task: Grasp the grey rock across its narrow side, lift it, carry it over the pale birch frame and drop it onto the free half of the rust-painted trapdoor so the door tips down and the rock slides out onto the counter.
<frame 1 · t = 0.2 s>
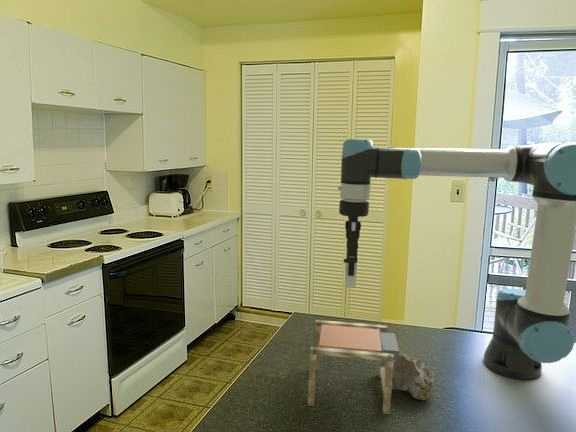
hand: (349, 279, 118), 27 cm above the kitchen island, fingers open, 13 cm apart
rock: (412, 394, 114), on the kitchen island
frame: (348, 389, 115), on the kitchen island
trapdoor: (358, 342, 112), point 13 cm above the kitchen island, hinge at 0.0°
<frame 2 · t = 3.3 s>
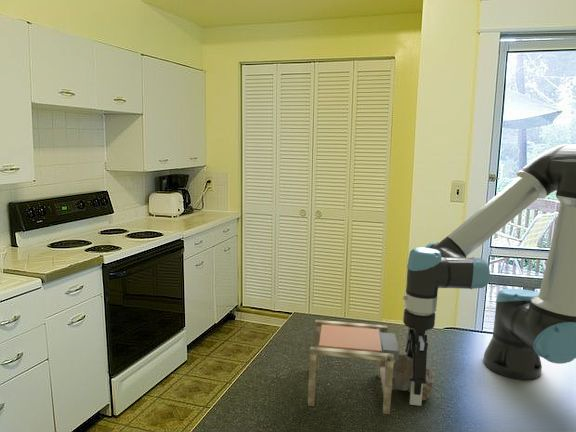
hand: (412, 392, 114), 0 cm above the kitchen island, fingers open, 9 cm apart
nothing on the kitchen island moved.
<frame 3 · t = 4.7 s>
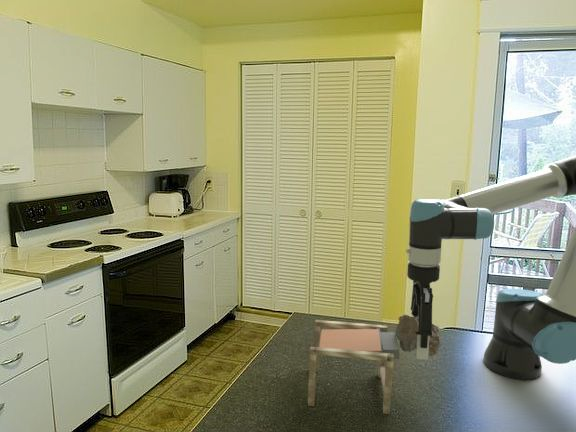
hand: (418, 349, 112), 12 cm above the kitchen island, fingers closed on rock, 9 cm apart
rock: (423, 353, 112), point 11 cm above the kitchen island, touching gripper
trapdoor: (358, 344, 113), point 13 cm above the kitchen island, hinge at -5.0°
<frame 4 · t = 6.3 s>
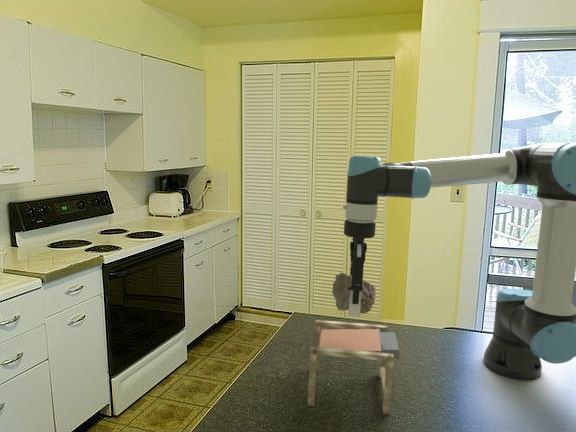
hand: (353, 308, 111), 22 cm above the kitchen island, fingers closed on rock, 9 cm apart
rock: (357, 312, 111), point 21 cm above the kitchen island, touching gripper
everything else where it was.
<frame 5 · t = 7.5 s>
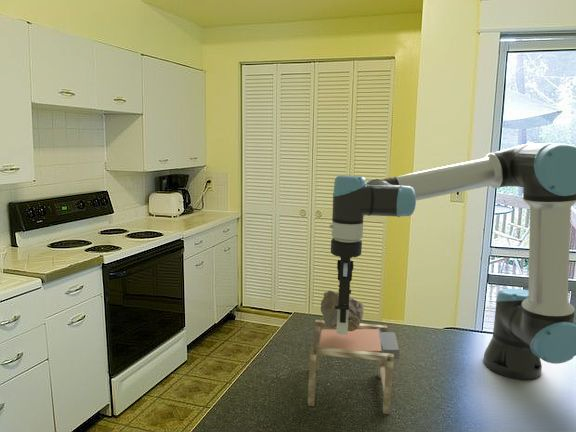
hand: (342, 325, 112), 17 cm above the kitchen island, fingers closed on rock, 9 cm apart
rock: (345, 329, 112), point 16 cm above the kitchen island, touching gripper
everything else where it was.
when the fingers open (17 cm above the kitchen island, at t = 7.6 s): rock drops 9 cm, resting on frame.
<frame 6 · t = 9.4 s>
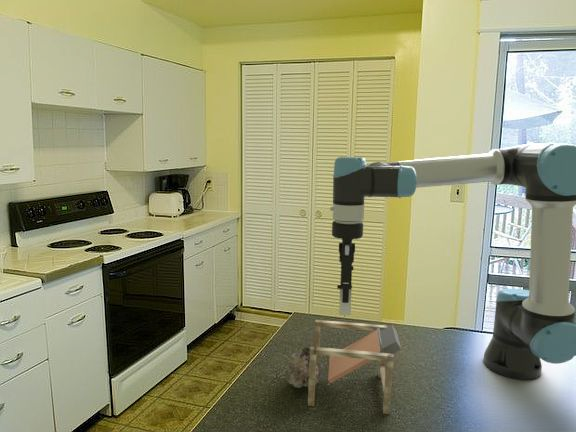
hand: (344, 304, 111), 23 cm above the kitchen island, fingers open, 13 cm apart
rock: (320, 366, 112), point 7 cm above the kitchen island, touching frame
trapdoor: (363, 354, 113), point 10 cm above the kitchen island, hinge at -36.0°
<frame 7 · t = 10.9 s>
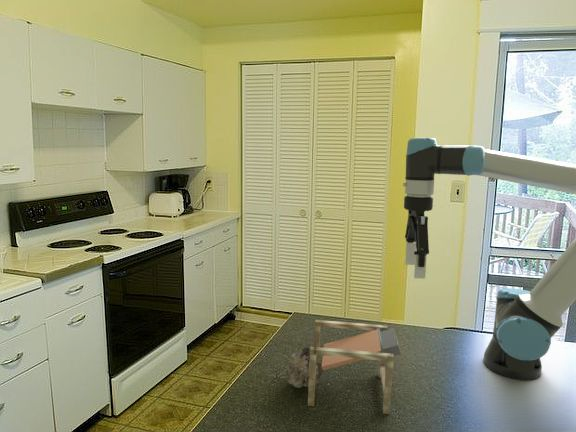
hand: (414, 271, 124), 28 cm above the kitchen island, fingers open, 13 cm apart
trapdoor: (360, 349, 113), point 11 cm above the kitchen island, hinge at -21.6°
everything else where it was.
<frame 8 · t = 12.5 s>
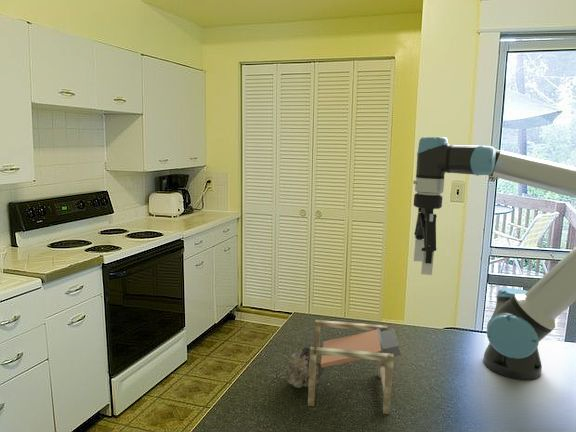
hand: (422, 267, 126), 29 cm above the kitchen island, fingers open, 13 cm apart
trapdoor: (359, 348, 113), point 11 cm above the kitchen island, hinge at -18.6°
everything else where it was.
at the end: rock point 7.2 cm above the kitchen island; rock moved 25.2 cm from its start; the gripper is holding nothing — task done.
